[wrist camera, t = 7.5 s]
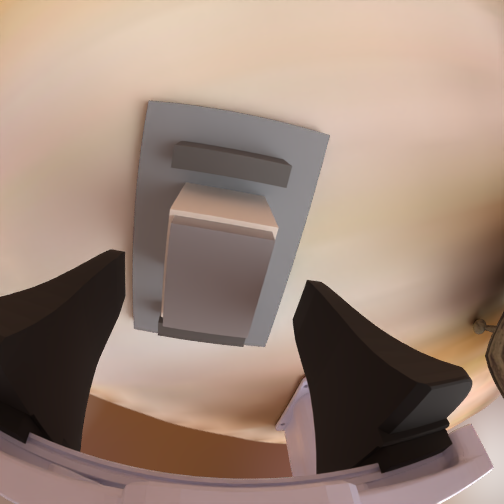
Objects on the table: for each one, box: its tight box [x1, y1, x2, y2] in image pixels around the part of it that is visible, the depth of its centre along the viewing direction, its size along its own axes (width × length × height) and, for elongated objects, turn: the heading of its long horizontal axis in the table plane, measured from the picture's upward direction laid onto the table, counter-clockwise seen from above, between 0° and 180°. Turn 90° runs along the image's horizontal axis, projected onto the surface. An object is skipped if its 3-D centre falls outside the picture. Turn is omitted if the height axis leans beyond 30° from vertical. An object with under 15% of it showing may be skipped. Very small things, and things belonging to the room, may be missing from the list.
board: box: [133, 101, 330, 347], centre depth 15 cm, size 14×9×3 cm, turn 168°
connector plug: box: [161, 183, 278, 338], centre depth 13 cm, size 5×4×5 cm
